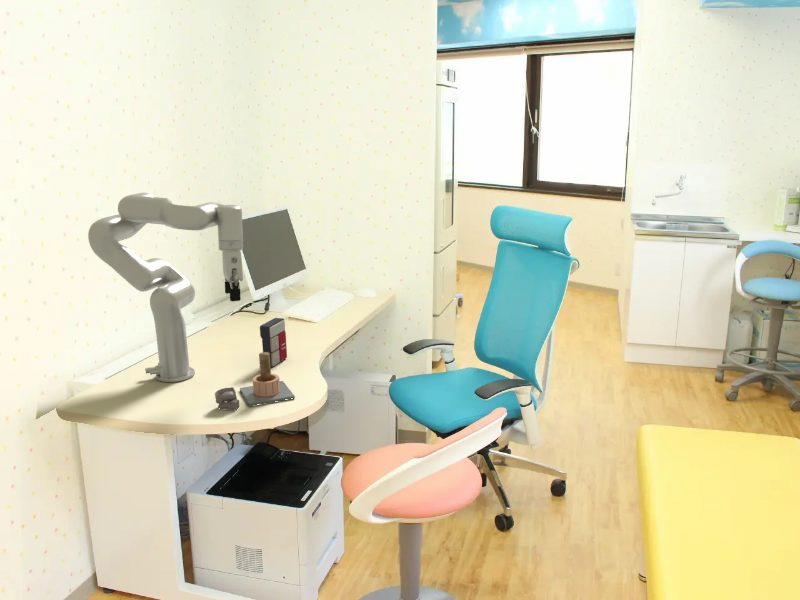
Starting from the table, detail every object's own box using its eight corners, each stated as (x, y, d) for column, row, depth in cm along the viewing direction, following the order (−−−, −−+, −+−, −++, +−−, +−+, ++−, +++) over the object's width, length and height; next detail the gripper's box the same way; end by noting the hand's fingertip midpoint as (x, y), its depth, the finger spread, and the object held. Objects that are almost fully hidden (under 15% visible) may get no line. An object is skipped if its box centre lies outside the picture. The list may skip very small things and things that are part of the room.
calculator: (273, 368, 246) (270, 327, 242) (262, 367, 247) (259, 325, 243) (288, 358, 256) (286, 318, 252) (278, 357, 257) (275, 317, 253)
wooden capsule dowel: (262, 392, 220) (260, 356, 217) (260, 389, 223) (258, 353, 220) (272, 390, 222) (270, 354, 219) (270, 387, 224) (268, 351, 221)
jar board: (249, 406, 214) (248, 389, 212) (240, 390, 226) (238, 374, 225) (294, 398, 219) (293, 381, 218) (282, 383, 232) (281, 367, 230)
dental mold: (216, 402, 217) (214, 387, 216) (239, 400, 219) (237, 385, 218) (216, 413, 210) (214, 397, 209) (240, 410, 212) (238, 394, 210)
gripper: (247, 249, 217) (249, 303, 222) (238, 239, 232) (239, 289, 237) (223, 250, 214) (225, 305, 219) (214, 240, 230) (216, 291, 234)
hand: (232, 296), depth 228 cm, fingers open, 9 cm apart
